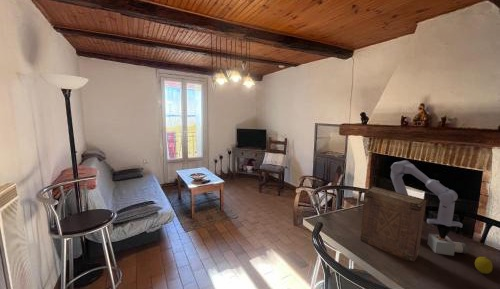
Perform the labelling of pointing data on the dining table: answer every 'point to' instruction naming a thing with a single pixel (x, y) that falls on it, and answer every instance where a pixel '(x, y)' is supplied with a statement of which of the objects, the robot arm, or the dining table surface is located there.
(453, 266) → the dining table surface
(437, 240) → the housing
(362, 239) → the book
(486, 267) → the lemon
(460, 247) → the block
